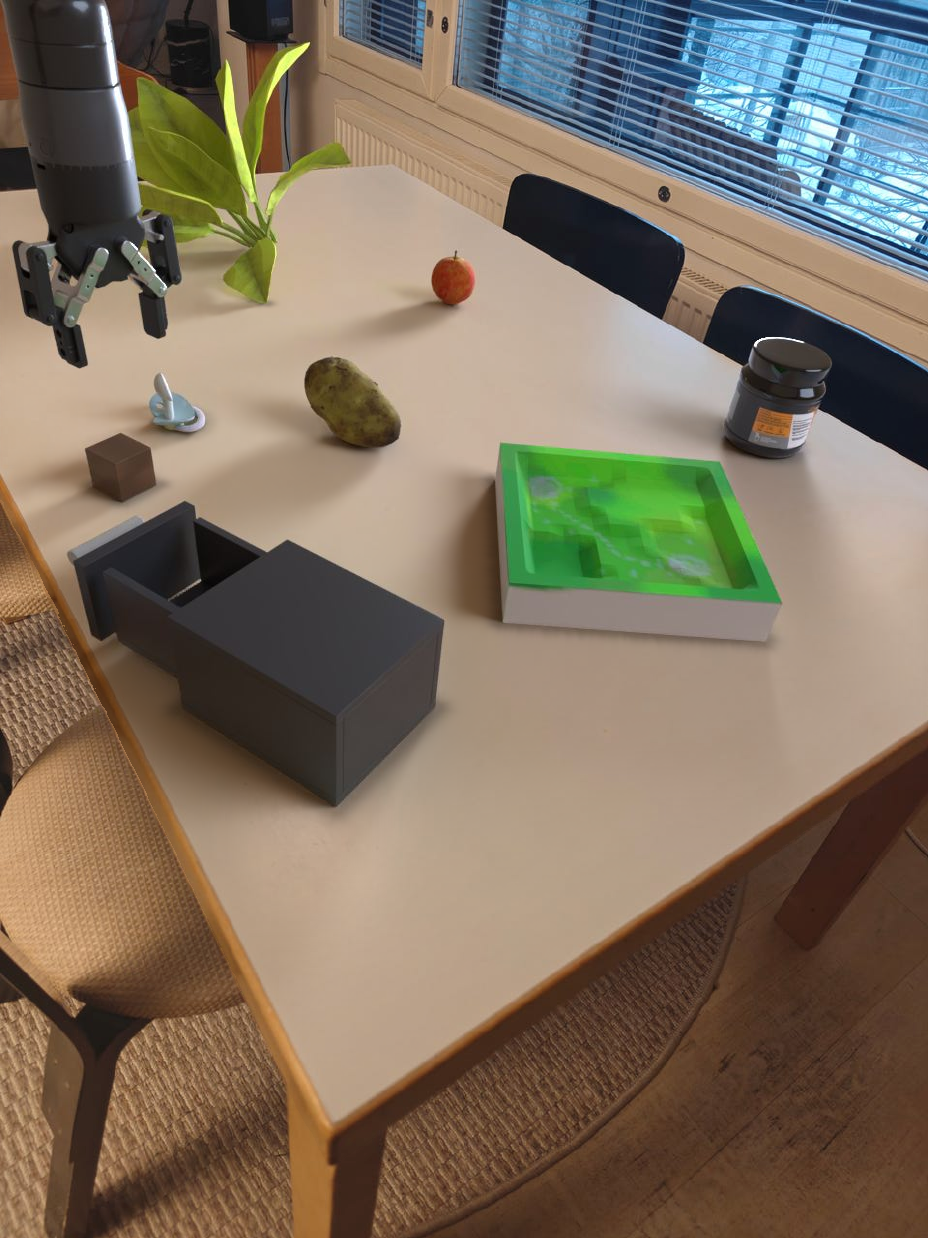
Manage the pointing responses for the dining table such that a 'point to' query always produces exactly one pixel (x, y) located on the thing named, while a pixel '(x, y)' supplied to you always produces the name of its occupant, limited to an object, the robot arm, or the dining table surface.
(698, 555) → the tray
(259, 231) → the artificial plant
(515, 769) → the dining table surface
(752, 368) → the supplement container
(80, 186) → the robot arm
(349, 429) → the potato
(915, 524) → the dining table surface
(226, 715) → the cabinet
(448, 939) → the dining table surface
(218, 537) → the drawer
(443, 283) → the fruit
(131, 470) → the block
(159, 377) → the pacifier
